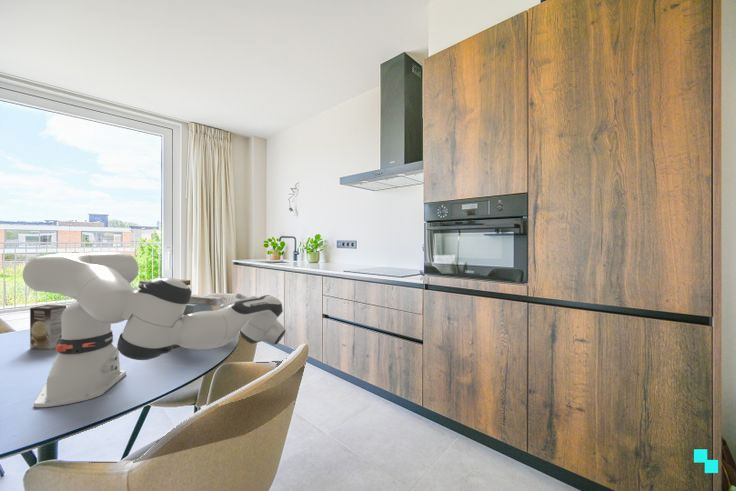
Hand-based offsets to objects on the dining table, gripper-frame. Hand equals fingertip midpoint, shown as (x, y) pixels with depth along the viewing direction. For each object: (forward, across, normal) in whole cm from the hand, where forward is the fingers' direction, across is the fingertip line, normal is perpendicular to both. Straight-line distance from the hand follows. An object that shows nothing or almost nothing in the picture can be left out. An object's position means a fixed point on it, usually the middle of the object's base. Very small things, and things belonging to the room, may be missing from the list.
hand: (229, 296), depth 131 cm
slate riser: (+8, 0, -26) cm, 27 cm away
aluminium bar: (+13, 0, -12) cm, 17 cm away
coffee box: (+44, -30, -48) cm, 72 cm away
